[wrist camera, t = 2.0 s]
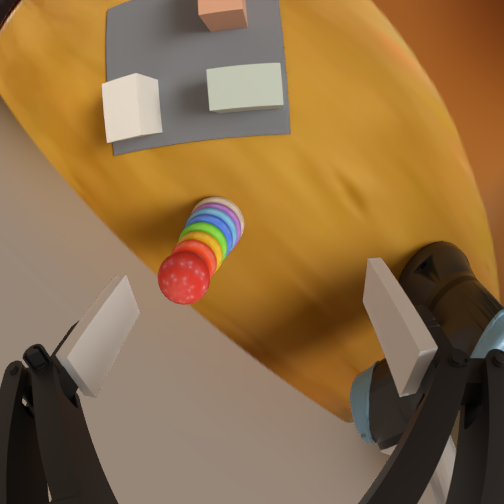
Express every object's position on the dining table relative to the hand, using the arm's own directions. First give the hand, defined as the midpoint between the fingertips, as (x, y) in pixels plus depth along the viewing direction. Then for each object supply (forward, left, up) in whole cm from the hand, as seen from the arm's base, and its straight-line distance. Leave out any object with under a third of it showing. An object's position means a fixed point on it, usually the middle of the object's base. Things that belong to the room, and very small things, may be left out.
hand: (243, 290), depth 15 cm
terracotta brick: (+3, -27, -26) cm, 37 cm away
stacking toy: (+7, +5, -27) cm, 28 cm away
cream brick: (+16, -13, -26) cm, 33 cm away
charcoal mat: (+9, -20, -26) cm, 34 cm away
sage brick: (+1, -13, -26) cm, 29 cm away
